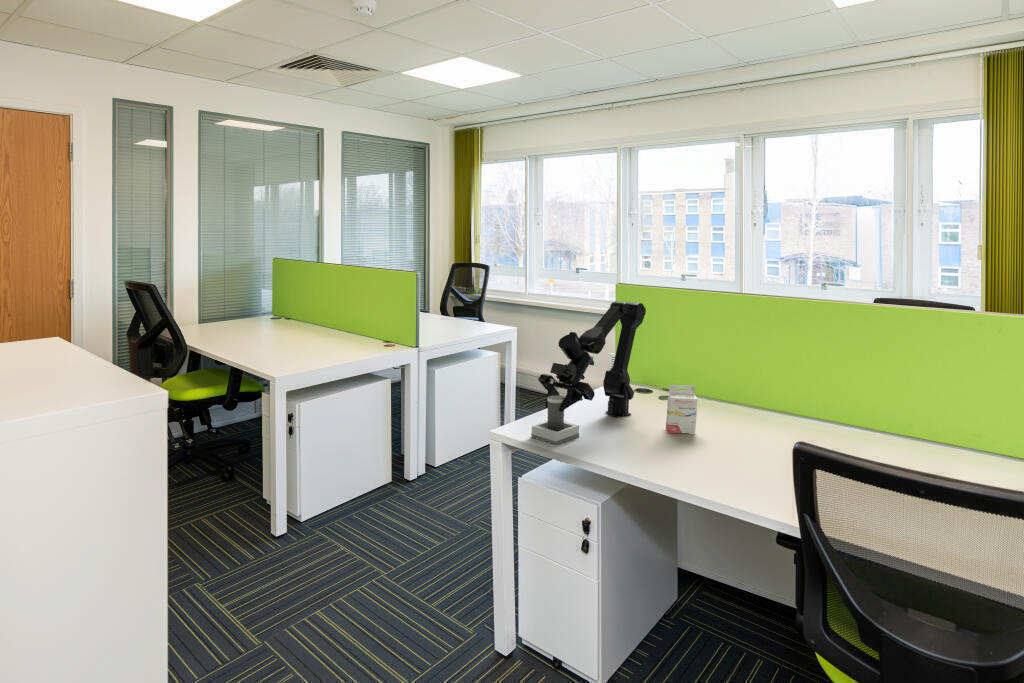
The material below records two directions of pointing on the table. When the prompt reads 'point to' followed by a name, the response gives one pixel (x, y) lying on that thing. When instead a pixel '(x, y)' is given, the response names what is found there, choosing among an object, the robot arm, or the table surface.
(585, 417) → the table surface
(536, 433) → the white open box
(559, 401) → the gray cylindrical canister
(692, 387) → the ink cartridge box
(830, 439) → the table surface
